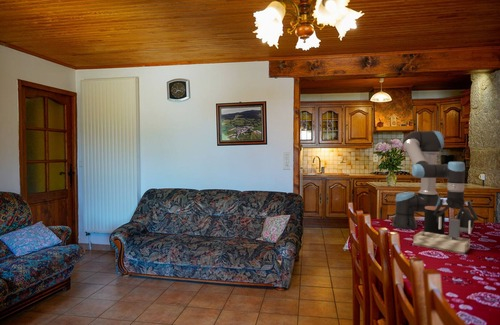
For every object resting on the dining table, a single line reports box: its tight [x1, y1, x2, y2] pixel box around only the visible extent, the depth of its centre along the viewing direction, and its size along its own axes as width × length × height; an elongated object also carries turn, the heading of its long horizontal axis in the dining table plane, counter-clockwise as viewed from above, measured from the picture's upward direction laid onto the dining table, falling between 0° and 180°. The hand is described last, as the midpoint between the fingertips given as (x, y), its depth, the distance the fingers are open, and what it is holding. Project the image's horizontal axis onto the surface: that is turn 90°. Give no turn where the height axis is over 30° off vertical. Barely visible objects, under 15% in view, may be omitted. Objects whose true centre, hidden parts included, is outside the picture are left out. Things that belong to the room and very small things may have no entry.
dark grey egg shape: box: [455, 207, 474, 233], centre depth 211 cm, size 10×10×15 cm
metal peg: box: [448, 218, 461, 240], centre depth 174 cm, size 5×5×14 cm
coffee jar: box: [423, 206, 446, 235], centre depth 197 cm, size 11×11×18 cm
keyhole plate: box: [412, 230, 471, 255], centre depth 178 cm, size 24×14×5 cm, turn 47°
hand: (454, 231), depth 174 cm, fingers open, 13 cm apart
